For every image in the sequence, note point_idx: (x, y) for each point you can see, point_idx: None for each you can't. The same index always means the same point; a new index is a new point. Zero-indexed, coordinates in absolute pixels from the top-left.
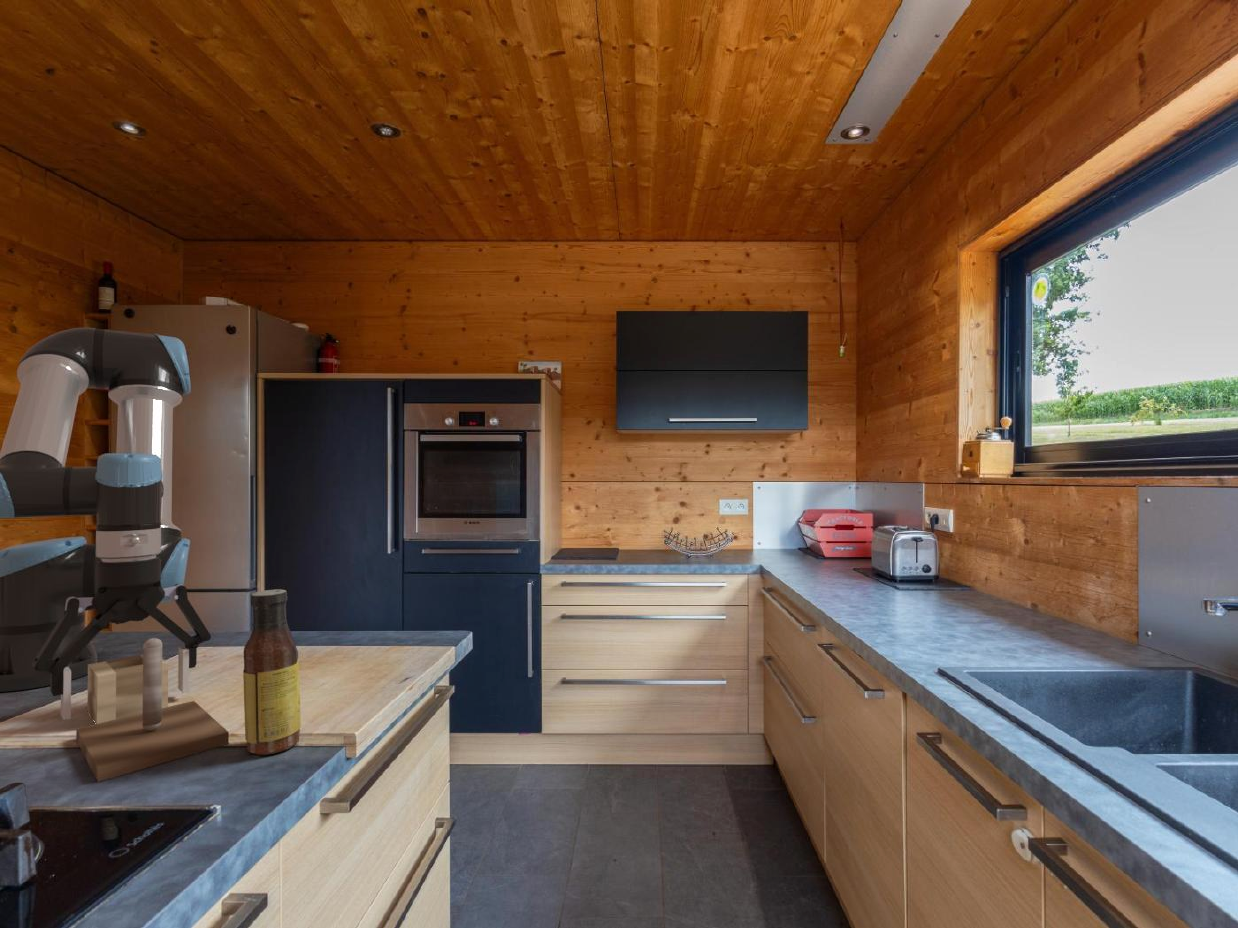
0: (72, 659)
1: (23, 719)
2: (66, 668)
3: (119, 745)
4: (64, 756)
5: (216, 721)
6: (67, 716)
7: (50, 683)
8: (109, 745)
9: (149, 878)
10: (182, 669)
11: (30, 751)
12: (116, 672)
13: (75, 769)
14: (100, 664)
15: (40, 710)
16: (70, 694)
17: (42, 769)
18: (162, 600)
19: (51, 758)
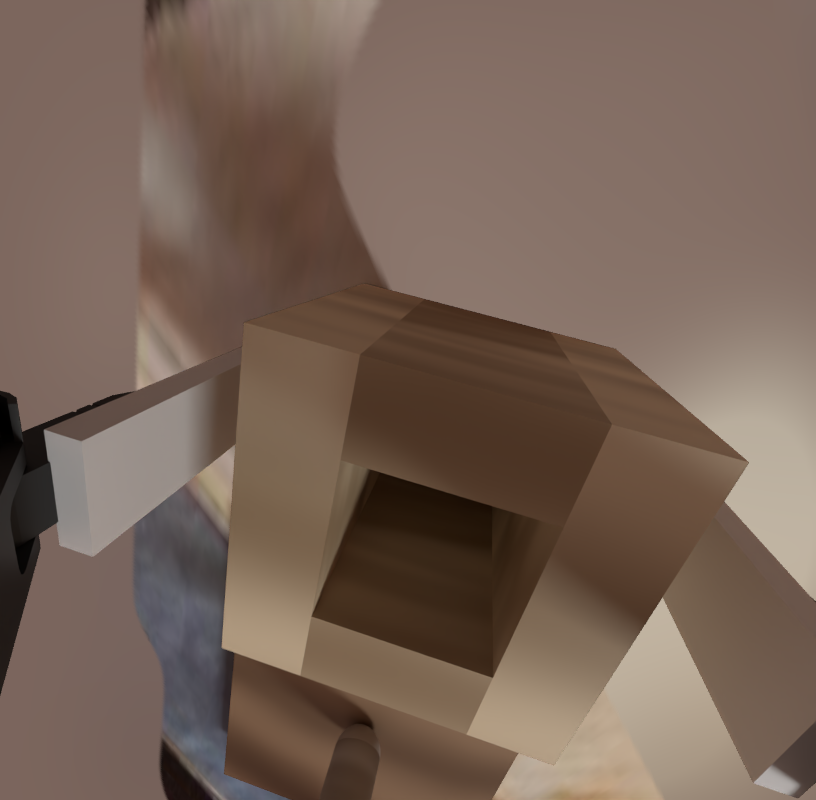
0: (19, 614)
1: (181, 115)
2: (71, 475)
3: (283, 730)
4: (222, 595)
5: None
6: None
7: (76, 414)
8: (269, 712)
9: None
10: (685, 625)
11: (171, 495)
12: (306, 666)
13: (225, 670)
14: (304, 418)
15: (248, 19)
16: (195, 473)
17: (180, 616)
18: None
19: (201, 580)
